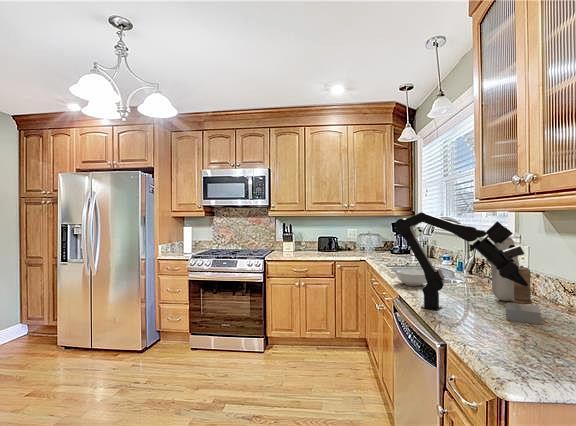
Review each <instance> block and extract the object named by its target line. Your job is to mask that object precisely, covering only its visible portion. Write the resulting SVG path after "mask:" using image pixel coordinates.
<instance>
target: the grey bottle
mask: <svg viewBox="0 0 576 426" xmlns="http://www.w3.org/2000/svg"><path fill="white" fill-rule="evenodd" d="M493 244H494V245H495V246H496V247H497V248H498V249H501V250H502V251H504V250H507V249H509V245H511V244H513V245H515V241H514V239H513V238H512V237H508V238H507V239H506V240H505V241H504V242H502V243H501V244H500V243H499V242H498V243H494V242H493ZM515 246H516V245H515ZM512 259H513V260H515V262H516V264H517V266H518V267H520V263H519V258H518V256H516V257H513V258H512ZM515 262H514V263H515ZM490 270H491V271H490V273H491V275H490V276H491V291H492V293H493V295H494V297H495V298H496V299H497V300H500V301H503V302H513V301H512V298H514V281H512V280H509V279H507V278H503V277H502V276H500V275H499V270H497V269H496V267H495V266H494V265H492V264H491V263H490Z"/></svg>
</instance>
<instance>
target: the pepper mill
mask: <svg viewBox="0 0 576 426" xmlns="http://www.w3.org/2000/svg"><path fill="white" fill-rule="evenodd" d="M518 272H519V273H520V275H521V276H522V277H523V278H524V280H525V281H526V282H527V283H528V286H523V285H521V284H519V283H516V282H514V298H512V301H511V302H512V303H515V304H524V305H532V304H533V300H531V299H532V298H531V269H530V267H527V266H526V267H525V266H524V265H519V270H518Z"/></svg>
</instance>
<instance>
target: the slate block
mask: <svg viewBox="0 0 576 426" xmlns="http://www.w3.org/2000/svg"><path fill="white" fill-rule="evenodd" d="M505 306H506V307H505V317H506V321H510V322H511V321H512V322H520V323H525V324H526V323H527V324H535V325H542V316H541V314H542V313H541V310H540V306H539V305H532V304H520V303H515V302H506V304H505Z"/></svg>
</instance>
